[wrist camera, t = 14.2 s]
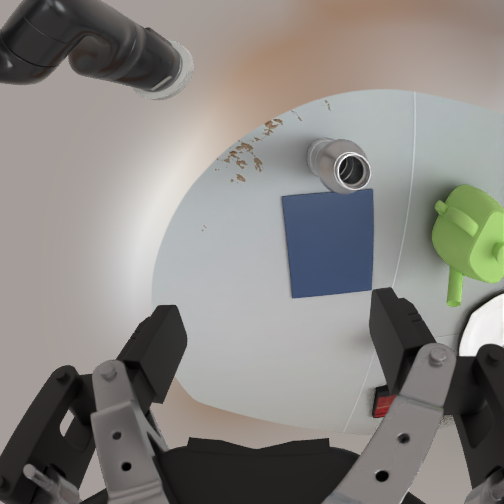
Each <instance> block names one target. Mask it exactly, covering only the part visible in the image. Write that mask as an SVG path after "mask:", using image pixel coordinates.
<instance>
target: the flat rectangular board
mask: <svg viewBox="0 0 504 504" xmlns="http://www.w3.org/2000/svg"><path fill="white" fill-rule="evenodd" d="M282 202H283V210H284V219H285V228H286V237H287V246H288V256H289V266H290V276H291V287H292V298H302V297H313V296H323V295H333V294H342V293H351V292H360V291H368V290H371V288H372V271H373V234H374V221H373V189H366V190H358V191H356V192H354V193H350V194H343V195H342V194H337V193H334V192H325V193H313V194H302V195H292V196H282Z"/></svg>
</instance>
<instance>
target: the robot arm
mask: <svg viewBox="0 0 504 504" xmlns="http://www.w3.org/2000/svg"><path fill="white" fill-rule="evenodd" d="M67 55H68V59H69V64H70V66H71V68H72V69H73V70H74V71H75V72H76V73H77V74H79V75H82V76H85V77H90V78H95V79H100V80H106V81H110V82H114V83H119V84H123V85H127V86H131V87H135V88H139V89H142V90H144V91H148V92H160V91H163V90H165V89H167V88H169V87H170V86H171V85H172V84H173V83H174V82H175V81H176V80H177V79H178V77H179V75H180V73H181V70H182V64H183V63H182V57H181V55H180V53H179V52H178V51H177V50H176V49H175V48H173V47H172V44H171V43H170V42H169V41H168V40H166V39H165V38H163V37H162V36H161V35H159V34H158V33H157V32H155V31H154V30H152V29H151V28H143V27H142V26H140V25H139V24H137V23H135V22H134V21H132V20H131V19H129V18H128V17H126V16H124V15H123V14H121V13H120V12H118V11H117V10H116V9H114V8H112V7H111V6H109V5H107V4H106V3H104V2H102V1H101V0H23V1H22V2H21V3H20V5H19V6H18V7H17V8H16V10H15V11H14V12H13V13H12V15H11V16H10V18H9V19H8V20H7V22H6V23H5V24H4V26H3V27H2V29H0V83H5V84H13V85H29V84H36V83H39V82H41V81H43V80H44V79H46V78H47V77H48V76H49V75H50V74H51V73H52V72H53V71H54V70H55V69H56V68H57V67H58V66H59V64H60V63H61V62H62V61H63V60H64V59H65V58H66V57H67ZM369 329H370V335H371V338H372V341H373V344H374V346H375V349H376V352H377V355H378V358H379V361H380V364H381V367H382V370H383V373H384V376H385V379H386V382H387V385H388V388H389V392H390V395H391V396H393V395H396V397H395V398H394V400H393V402H392V404H391V406H390V408H389V410H388V411H387V413H386V415H385V417H384V418H383V420H382V422H381V423H380V425H379V427H378V429H377V430H376V432H375V433H374V435H373V437H372V438H371V440H370V441H369V443H368V444H367V446H366V448H365V449H364V451H363V452H362V453H361V455H358V454H356V453H354V452H351V451H348V450H345V449H341V448H336V447H330V446H329V438H325V439H314V440H301V441H291V442H287V443H283V444H279V445H274V446H270V447H265V448H261V449H252V448H248V447H244V446H240V445H236V444H232V443H229V442H225V441H222V440H211V439H201V438H191V437H189V441H188V444H187V446H183V447H177V448H174V449H171V450H170V449H169V448H168V446H167V445H166V443H165V440H164V438H163V436H162V434H161V431H160V429H159V427H158V424H157V422H156V420H155V417H154V415H153V412H152V410H151V409H150V405H151V403H152V402H153V403H161V404H163V402H164V399H165V397H166V395H167V392H168V390H169V387H170V385H171V382H172V380H173V378H174V375H175V373H176V371H177V368H178V366H179V363H180V361H181V359H182V356H183V354H184V352H185V349H186V347H187V334H186V331H185V328H184V325H183V322H182V319H181V316H180V313H179V310H178V308H177V306H176V305H159V306H157V307H156V309H155V310H154V312H153V313H152V315H151V316H150V317H148V318H146V319H145V320H144V321H143V322H141V323H140V324H139V325H138V327H137V328H136V330H135V333H133V334H132V336H131V337H130V339H129V340H128V342H127V343H126V345H125V346H124V348H123V349H122V351H121V353H120V354H119V355H118V357H117V358H116V360H108V361H105V362H104V363H102V364H100V365H99V366H97V368H96V369H95V370H94V371H93V374H86V375H79V374H78V372H77V371H76V369H75V368H74V367H73V366H70V365H66V366H62V367H60V368H58V369H56V370H55V371H54V372H53V373H52V374H51V376H50V377H49V379H48V380H47V382H46V383H45V384H44V386H43V387H42V389H41V390H40V392H39V393H38V395H37V396H36V398H35V399H34V401H33V402H32V404H31V405H30V407H29V408H28V410H27V412H26V413H25V415H24V416H23V418H22V420H21V421H20V423H19V425H18V426H17V428H16V430H15V431H14V433H13V435H12V436H11V438H10V440H9V442H8V443H7V445H6V447H5V449H4V451H3V452H2V454H1V456H0V501H2V502H3V503H5V504H425V503H424V502H422V501H421V500H420V499H418V498H417V497H415V496H414V495H413V494H411V493H410V492H408V490H409V488H410V487H411V485H412V483H413V481H414V479H415V477H416V475H417V474H418V472H419V469H420V468H421V466H422V463H423V461H424V459H425V457H426V455H427V453H428V451H429V448H430V446H431V444H432V441H433V439H434V437H435V434H436V432H437V429H438V426H439V424H440V421H441V418H442V416H443V415H453V418H454V421H455V424H456V427H457V430H458V434H459V437H460V440H461V444H462V447H463V451H464V455H465V459H466V463H467V467H468V471H469V476H470V480H471V485H472V491H471V492H470V493H469V494H468V496H467V497H466V500H465V503H464V504H504V348H503V347H501V346H499V345H497V344H485V345H483V346H481V347H480V348H479V350H478V352H477V354H476V356H456V355H455V353H454V352H453V350H452V349H451V348H449V347H448V346H446V345H444V344H440V343H437V342H436V341H435V339H434V337H433V335H432V334H431V332H430V330H429V329H428V327H427V326H426V324H425V322H424V321H422V318H421V316H420V314H418V311H417V310H416V308H415V307H414V305H413V304H412V303H411V302H409V301H408V300H406V299H405V298H399V299H398V297H397V296H396V294H395V292H394V291H393V289H392V288H391V287H389V288H381V289H374V290H373V291H372V297H371V309H370V319H369ZM68 409H69V410H70V411H71V413H73V415H74V416H75V417H74V419H73V420H72V422H71V424H70V426H69V428H68V430H67V432H66V434H65V436H64V437H63V436H62V434H61V432H60V424H61V422H62V420H63V418H64V416H65V414H66V413H67V411H68ZM95 448H96V450H97V454H98V458H99V462H100V467H101V471H102V474H103V478H104V481H105V485H106V488H105V489H104V490H102V491H100V492H98V493H97V494H95V495H93V496H91V497H89V498H88V499H86V500H84V501H82V500H81V499H80V498H79V492H78V490H79V488H80V485H81V483H82V480H83V478H84V475H85V473H86V470H87V468H88V465H89V463H90V460H91V458H92V455H93V453H94V451H95Z"/></svg>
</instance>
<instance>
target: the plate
mask: <svg viewBox="0 0 504 504" xmlns="http://www.w3.org/2000/svg"><path fill="white" fill-rule="evenodd" d="M485 344H497V345H499V346H503V345H504V293H503V294H501V295H498V296H496V297H494V298H493V299H491V300H490V301H488V302H487V303H485V304H484V305H482V306H481V307H479V308H478V309H477V310H475V311H474V312H473V313H472V314H471V316H470V318H469V321H468V323H467V325H466V328H465V330H464V333H463V335H462V338H461V342H460V347H459V356H476V354H477V352H478V350H479V348H480V347H481V346H483V345H485Z"/></svg>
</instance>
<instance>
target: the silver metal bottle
mask: <svg viewBox="0 0 504 504" xmlns="http://www.w3.org/2000/svg"><path fill="white" fill-rule="evenodd" d="M307 163H308V166H309V168H310V170H311V171H312V172H313V173H314V174H315V175H316V176H318V177H319V178H320V180H321V182H322V183H323V184H324V186H325V187H326V188H327V189H329V190H330V191H332V192H334V193H337V194H342V195H343V194H350V193H354V192H356V191H358V190H359V189H362V188H363V187H365V186H366V185H367V184H368V182H369V180H370V177H371V168H370V165H369V163H368V159H367V157H366V154H365V153H364V151H363V150H362V149H361V148H360V147H359V146H358V145H357V144H356V143H354V142H352V141H349V140H345V139H338V140H334V139H331V138H321V139H318V140H316V141H315V142H313V143H312V144H311V146H310V147H309V149H308V152H307Z"/></svg>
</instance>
